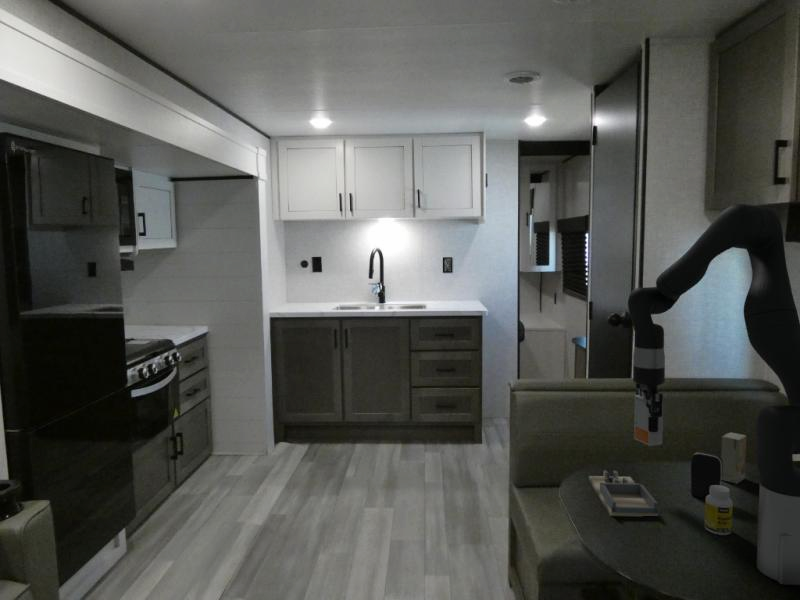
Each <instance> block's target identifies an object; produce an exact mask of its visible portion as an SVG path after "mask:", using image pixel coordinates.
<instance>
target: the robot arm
mask: <svg viewBox="0 0 800 600" xmlns="http://www.w3.org/2000/svg"><path fill="white" fill-rule="evenodd" d="M784 242H785V241H784V234H783V226H782V223H781V220H780V217H779V216H778V214H777V212H775V211H774V210H773V209H771V208H769V207H765V206H759V205H751V204H746V203H737V204H736V203H735V204H732V205H729V206H728V207H727V208H725V209H724V210H723V211H721V213H720V214H719V215H718V216H717V217H716V218H715V219H714V220H713V221H712V223H711V224H710V225H709V226H708V227H707V228H706V230H705V231H704V232H703V233H702V234H701V235H700V236H699V237H698V239H697V240H696V241H695V242H694V243H693V245H691V246H690V248H689V249H688V250H687V251H686V252H685V253H684V254H683V255H682V256H681V257H680V258H678V259H677V260H676V261H675V262H674V263H672V264H671V265H670V266H669V267H667V268H666V269H665V270H664V271H663V272H661V273H660V274H659V275H658V277H656V280H655V285H656V286H647V287H637V288H634V289H633V290H632V291H631V292H630V294H629V296H628V300H627V308H628V312H629V315H630V319H631V323H632V326H633V330H634V344H633V345H634V348H633V354H632V355H633V356H632V360H633V361H632V363H633V366H632V373H633V374H632V381H633V382H634V383H635V395H640V396H642V398H643V399H644V405H645V408H646V409H647V411H648V430H649V431H650V432H658V418H659V417H662V399H663V398H664V397H663V393H659V391H658V386H659V385H664V383H665V381H666V375H665V374H666V371H665V370H666V368H665V367H666V354H665V330H664V327H663V326H662V325H661V324H658V323H654V321H653V318H652V315H661V314H664V313H666V312H667V311H669V310H670V309H672V308H673V307H674V305H675V304H676V303H677V301H678V300H679V299H680V297H681V296H682V295H684V294H685V293H687V292H688V291H689V290H691V289H692V288H694V287H695V286H696V285H698V284H699V283H700V281H702V279H703V278H704V277H705V276H706V273H707V271H708V268H709V267H710V264H711V263H712V261H713V260H714V259H716V257H718V256H719V255H721V254H722V253H724V252H726V251H728V250H730V249H733V248H734V249H742V250H746V252H747V254H748V257H749V262H750V266H751V272H752V273H751V274H752V275H751V276H752V277H751V282H750V286H749V289H748V292H747V294H746V297H745V300H744V304H743V317H744V318H743V319H744V323H745V329H746V333H747V337H748V341H749V343H750V345H751V347H752V348H753V349H754V351H755V352H756V353H757V355H758V356H759V357H760V358H761V359H762V360H763V361H764V363H766V365H767V366H768V367H769V368H770V369H771V370H772V371H773V373H774V374H775V375H776V376H777V378H778V379H779V381H780V382H781V384H782V387H783V389H784V392H785V394H786V398H787V402H788V404H783V405H780V404H779V405H769V406H768V405H767V406H764V407H763V408H762V409H760V411H759V413H758V415H757V419H756V425H755V432H756V433H755V437H756V441H755V442H756V466H757V471H758V472H759V490H758V491H759V492H758V493H759V495H758V512H757V513H758V515H757V542H756V543H757V544H756V545H757V546H756V550H757V551H756V568H757V570H758V571H759V572H760V573H762V574H763V575H764V576H767V578H770V579H772V580H774V581H776V582H778V583H779V584H780V585H789V586H790V585H792V586H795V585H796V586H800V468H799V467H798V466H797V467H796V466H794V460H793V459H794V458H793V457H794V456H793V455H800V317H799V314H798V308H797V306H796V302H795V299H794V296H793V295H794V294H793V290H792V286H791V280H790V276H789V273H788V267H787V262H786V261H787V260H786V259H787V258H786V253H785V251H786V250H785V243H784ZM647 400H651V405H649V404H648V402H647ZM663 400H664V399H663ZM650 408H651V409H650ZM658 408H659V409H658ZM654 409H655V412H654Z"/></svg>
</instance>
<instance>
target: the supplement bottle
mask: <svg viewBox="0 0 800 600" xmlns="http://www.w3.org/2000/svg"><path fill="white" fill-rule="evenodd" d="M730 492H731V489H729V488H728V487H726V486H724V485H721V486H720V485H711V486H710V489H709V493H710V494H709V495H707V496H706V499H705V501H704V502H705V503H704V505H705V506H704V526H703V527H704V528H705V530H706V531H708V532H709V533H712V534H715V535H717V534H718V536H728V535H730V534H731V533H732V531H733V530H732V527H733V509H734V508H733V506H734V504H733V500H732V499H731V498H730V495H731V494H730Z"/></svg>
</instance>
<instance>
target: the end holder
mask: <svg viewBox="0 0 800 600" xmlns="http://www.w3.org/2000/svg"><path fill="white" fill-rule="evenodd" d="M600 493H601V495H602V496H603V498H604V500H605V501H606V503H607V504H608V506H609V508H610V509H611V511H612V512H619V513H657V512H658V508H659V507H658V505H659V503H658V502H657V501H656V499H655V498H654V497H653V495H652V494H651V493H650V492H649V491H648V490H647V488H646V486H644V484H643V483H636V482H635V483H600ZM611 494H640V496H641V497H642V498H643V500H644V501H645V502H646V504H647V505H648V506H649V507H634V506H616V502H615V500H614V499H613V497H612V496H611Z"/></svg>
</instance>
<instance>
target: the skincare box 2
mask: <svg viewBox="0 0 800 600" xmlns="http://www.w3.org/2000/svg"><path fill="white" fill-rule="evenodd" d="M746 453H747V435H746V434H740V433H735V432H727V433H726V434H724V435H723V436H721V455H720V457H721V458H722V461H723V475H722V478H721V481H726V482H729V483H733V484H737V485H738V484H739V483H740V482H742V481H743V480H744V479H745V478H746Z"/></svg>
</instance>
